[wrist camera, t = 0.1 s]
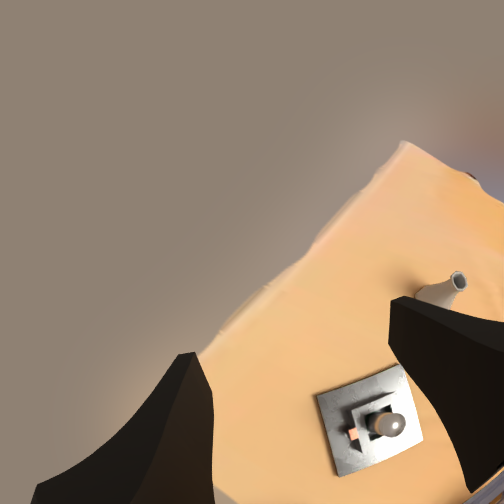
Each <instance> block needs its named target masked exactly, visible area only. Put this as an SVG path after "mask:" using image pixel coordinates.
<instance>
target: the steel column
mask: <svg viewBox="0 0 504 504" xmlns="http://www.w3.org/2000/svg"><path fill="white" fill-rule="evenodd" d="M365 424H366V427H367V431H369V432H372V433H376V434H380V435H383V436H386V437H390V438H393V437H397V436H399V435H400V434H401V433H402V432H403V431H404V429H405V426H406V420H405V417H404V416H403V415H402V414H400V413H388V412H379V411H374V412H371V413H370V414H368V415H367V417H366V418H365Z"/></svg>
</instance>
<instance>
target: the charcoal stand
mask: <svg viewBox="0 0 504 504" xmlns="http://www.w3.org/2000/svg"><path fill="white" fill-rule="evenodd" d="M316 397H317V401H318V404H319V408H320V411H321V415H322V419H323V422H324V426H325V429H326V433H327V437H328V440H329V444H330V448H331V452H332V455H333V459H334V463H335V467H336V471H337V474H338V477H342V476H345V475H348V474H351V473H354V472H356V471H359V470H361V469H364V468H366V467H369V466H371V465H374V464H376V463H378V462H380V461H383V460H385V459H387V458H389V457H391V456H393V455H396V454H398V453H400V452H402V451H404V450H406V449H407V448H409V447H411V446H413V445H415V444H417V443H419V442H420V441H422V440H423V438H422V433H421V429H420V425H419V421H418V417H417V413H416V409H415V405H414V402H413V398H412V395H411V391H410V388H409V384H408V381H407V378H406V375H405V371H404V368H403V367H402V366H401V364H398V365H396V366H394V367H392V368H390V369H387V370H385V371H383V372H380V373H378V374H376V375H373V376H371V377H368V378H366V379H363V380H361V381H358V382H355V383H353V384H350V385H347V386H344V387H342V388H339V389H336V390H333V391H330V392H327V393H324V394H321V395H318V396H316ZM374 411H379V412H388V413H400V414H402V415H403V416H404V417H405V420H406V426H405V429H404V431H403V432H402V433H401V434H400V435H399V436H397V437H393V438H390V437H386V436H383V435H380V434H376V433H372V432H369V431H367V427H366V424H365V418H366V417H367V415H368V414H370V413H371V412H374Z"/></svg>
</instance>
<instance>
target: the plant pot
mask: <svg viewBox="0 0 504 504" xmlns="http://www.w3.org/2000/svg"><path fill="white" fill-rule="evenodd" d="M501 496H502V492H501V493H500V494H499V495H498V496H497V497H496V498H495V499H494V500H492V501H491V502H490V503H489V504H495V503H496V502H497V501H499V500H500V499H501Z"/></svg>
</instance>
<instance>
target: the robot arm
mask: <svg viewBox="0 0 504 504" xmlns="http://www.w3.org/2000/svg"><path fill="white" fill-rule="evenodd" d="M388 344H389V346H390V348H391V349H392V351H393V353H394V355H395V356H396V358H397V360H398V361H399V363H400V364H401V366H402V367H403V368H404V369H405V371H406V372H407V373H408V375H409V376H410V377H411V378H412V380H413V381H414V382H415V383H416V385H417V386H418V387H419V388H420V390H421V391H422V392H423V393H424V395H425V396H426V397H427V399H428V400H429V401H430V403H431V404H432V406H433V407H434V409H435V410H436V412H437V414H438V416H439V417H440V419H441V421H442V423H443V425H444V427H445V429H446V431H447V433H448V435H449V437H450V439H451V441H452V443H453V446H454V448H455V451H456V453H457V456H458V459H459V461H460V465H461V468H462V471H463V474H464V478H465V482H466V486H467V488H468V490H469V491H470V493H473V492H474V491H475V490H477V489H478V488H479V487H481V486H482V485H483V484H484V483H485V482H487V481H488V480H489V479H490V478H491V477H493V476H494V475H495V474H496V473H497V472H498V471H499V470H500V469H502V468H503V467H504V322H498V321H492V320H486V319H481V318H477V317H473V316H469V315H465V314H462V313H458V312H455V311H452V310H449V309H445V308H442V307H439V306H436V305H433V304H430V303H427V302H424V301H421V300H418V299H414V298H411V297H406V296H402V297H399V298H397V299H394V300H391V303H390V325H389V339H388ZM213 428H214V408H213V397H212V390H211V388H210V386H209V384H208V381H207V379H206V377H205V375H204V372H203V370H202V368H201V365H200V363H199V361H198V358H197V356H196V353H195V352H191V353H185V354H179V355H178V356H177V357H176V359H175V360H174V361H173V363H172V364H171V366H170V367H169V369H168V370H167V372H166V373H165V375H164V376H163V378H162V379H161V380H160V382H159V383H158V385H157V386H156V387H155V389H154V390H153V392H152V393H151V394H150V396H149V397H148V398H147V399H146V401H145V402H144V403H143V405H142V406H141V407H140V408H139V409H138V410H137V412H136V413H135V414H134V415H133V417H132V418H131V419H130V420H129V421H128V422H127V423H126V424H125V425H124V426H123V427H122V428H121V429H120V430H119V431H118V432H117V433H116V434H115V435H114V436H113V437H112V438H111V439H110V440H109V441H107V442H106V443H105V444H104V445H102V446H101V447H100V448H99V449H97V450H96V451H95V452H94V453H93V454H91V455H90V456H89V457H87V458H86V459H84V460H83V461H81V462H80V463H78V464H77V465H75V466H73V467H72V468H70V469H68V470H67V471H65V472H63V473H61V474H59V475H57V476H55V477H53V478H51V479H49V480H47V481H44V482H42V483H40V484H37V487H36V489H35V492H34V495H33V498H32V501H31V504H215V500H214V492H213V481H212V450H213ZM501 492H502V496H501V499H500V500H499V501H497V502H496V503H495V504H504V471H502V472H501V473H500V474H499V475H498V476H497V477H496V478H495V479H494V480H492V481H491V482H490V483H489V484H488V485H486V486H485V487H484V488H483V489H482V490H480V491H479V492H478V493H476V494H475V495H474V496H473V497H471V498H470V499H469V500H467V501H466V502H464V503H463V504H489V503H490V502H491V501H492V500H494V499H495V498H496V497H497V496H498V495H499V494H500V493H501Z"/></svg>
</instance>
